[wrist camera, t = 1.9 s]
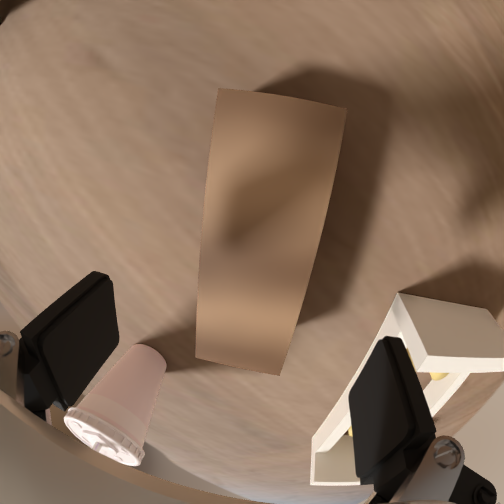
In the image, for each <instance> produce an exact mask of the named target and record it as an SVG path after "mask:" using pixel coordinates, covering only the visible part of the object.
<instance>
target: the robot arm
mask: <svg viewBox="0 0 504 504" xmlns="http://www.w3.org/2000/svg"><path fill="white" fill-rule="evenodd" d="M20 333H21V336H22V338H21V339H20V340H19V339H18V337H17V335H15V334H14V333H12V332H10V331H1V332H0V504H272V503H263V502H256V501H249V500H243V499H237V498H231V497H227V496H222V495H217V494H213V493H208V492H204V491H200V490H196V489H193V488H189V487H186V486H182V485H179V484H176V483H172V482H169V481H166V480H163V479H160V478H157V477H155V476H152V475H149V474H147V473H144V472H141V471H139V470H136V469H134V468H131V467H129V466H127V465H124V464H122V463H120V462H118V461H115V460H113V459H111V458H109V457H107V456H105V455H103V454H101V453H99V452H97V451H95V450H93V449H91V448H89V447H87V446H85V445H83V444H82V443H80V442H78V441H76V440H74V439H73V438H71V437H69V436H68V435H66V434H64V433H63V432H61V431H59V430H58V429H56V428H55V427H53V426H52V423H51V415H50V406H51V405H52V403H53V404H54V405H55V406H56V407H58V408H60V409H61V410H63V411H66V409H67V408H68V406H72V405H74V403H75V402H76V401H77V399H78V398H79V396H80V395H81V394H82V392H83V391H84V390H85V388H86V387H87V385H88V384H89V383H90V381H91V380H92V379H93V377H94V376H95V375H96V373H97V372H98V371H99V369H100V368H101V367H102V365H103V364H104V363H105V361H106V360H107V359H108V357H109V356H110V355H111V353H112V352H113V351H114V349H115V348H116V347H117V345H118V343H119V331H118V324H117V317H116V309H115V300H114V290H113V282H112V281H111V280H110V278H109V276H108V275H107V274H103V273H100V272H97V271H93V272H91V273H90V274H89V275H87V276H86V277H85V278H83V279H82V280H81V281H80V282H78V283H77V284H76V285H74V286H73V287H72V288H71V289H69V290H68V291H67V292H66V293H64V294H63V295H62V296H61V297H60V298H58V299H57V300H56V301H55V302H54V303H52V304H51V305H50V306H49V307H48V308H46V309H45V310H44V311H43V312H42V313H41V314H39V315H38V316H37V317H36V318H35V319H34V320H32V321H31V322H30V323H29V324H28V325H27V326H26V327H25V328H23V329H22V330H21V331H20ZM348 401H349V409H350V417H351V426H352V436H353V446H354V458H355V471H356V476H357V477H358V478H360V485H367V484H374V492H373V493H372V494H371V496H370V497H369V498H368V499H367V501H366V502H365V503H364V504H495V503H496V499H497V493H496V489H495V487H494V486H493V484H492V483H491V482H489V481H488V480H486V479H485V478H483V477H482V476H480V475H479V474H477V473H475V472H474V471H473V470H471V469H469V468H468V467H466V466H465V465H464V460H465V455H464V450H463V447H462V446H461V444H460V443H459V442H458V441H457V440H455V439H454V438H452V437H450V436H444V435H443V436H439V437H437V438H436V436H435V432H436V428H435V425H434V422H433V419H432V416H431V413H430V410H429V407H428V404H427V401H426V398H425V396H424V393H423V390H422V388H421V385H420V382H419V380H418V377H417V374H416V372H415V369H414V367H413V364H412V362H411V359H410V357H409V355H408V352H407V350H406V348H405V345H404V343H403V341H402V339H401V338H399V337H392V336H385V337H384V338H383V339H380V340H378V342H377V343H376V345H375V347H374V349H373V351H372V353H371V355H370V357H369V358H368V360H367V362H366V364H365V366H364V367H363V369H362V371H361V373H360V374H359V376H358V378H357V380H356V381H355V383H354V385H353V386H352V388H351V390H350V392H349V396H348ZM496 504H500V503H499V502H498V503H496Z"/></svg>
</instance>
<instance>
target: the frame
mask: <svg viewBox="0 0 504 504" xmlns="http://www.w3.org/2000/svg"><path fill="white" fill-rule="evenodd" d="M385 336H392V337H399V338H401V339H402V341H403V343H404V345H405V348H406V350H407V352H408V355H409V357H410V359H411V362H412V364H413V367H414V369H415V372H430V375H431V377H432V380H431V381H430V383H429V384H428V385H427V386H426V388H425V389H424V390H423V393H424V396H425V398H426V401H427V404H428V407H429V410H430V413H431V416H432V417H433V416H434V415H435V414H436V413H437V412H438V410H439V409H440V408H441V407H442V406H443V405H444V404H445V403H446V402H447V401H448V399H449V398H450V397H451V396H452V395H453V394H454V392H455V391H456V390H457V389H458V388H459V386H460V385H461V384H462V383H463V382H464V380H465V379H466V378H467V376H468V375H469V374H470V373H479V372H501V371H504V331H503V330H502V328H501V327H500V325H499V324H498V323H497V321H496V320H495V319H494V317H493V316H492V315H491V314H490V312H489V311H488V310H487V309H484V308H478V307H473V306H467V305H462V304H456V303H451V302H446V301H440V300H435V299H430V298H424V297H419V296H414V295H409V294H403V293H398V292H397V294H396V297H395V299H394V301H393V303H392V305H391V307H390V310H389V312H388V314H387V316H386V318H385V320H384V322H383V324H382V326H381V328H380V330H379V332H378V334H377V336H376V338H375V339H374V341H373V343H372V345H371V347H370V349H369V351H368V352H367V354H366V356H365V358H364V359H363V361H362V363H361V365H360V366H359V368H358V370H357V372H356V373H355V375H354V377H353V378H352V380H351V381H350V383H349V385H348V386H347V388H346V389H345V391H344V393H343V394H342V396H341V397H340V399H339V400H338V402H337V403H336V405H335V406H334V408H333V409H332V411H331V412H330V414H329V415H328V416H327V418H326V419H325V421H324V422H323V424H322V425H321V426H320V428H319V429H318V430H317V432H316V433H315V434H314V436H313V437H312V453H311V477H310V485H360V478H358V477H357V476H356V471H355V458H354V446H353V436H352V426H351V417H350V409H349V401H348V396H349V392H350V390H351V388H352V386H353V385H354V383H355V381H356V380H357V378H358V376H359V374H360V373H361V371H362V369H363V367H364V366H365V364H366V362H367V360H368V358H369V357H370V355H371V353H372V351H373V349H374V347H375V345H376V343H377V342H378V340H380V339H383V338H384V337H385ZM347 430H348V433H349V435H343V434H344V433H345V432H346V431H347Z"/></svg>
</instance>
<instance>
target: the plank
mask: <svg viewBox="0 0 504 504" xmlns="http://www.w3.org/2000/svg"><path fill="white" fill-rule="evenodd" d="M346 115H347V109H345V108H341V107H337V106H333V105H329V104H324V103H320V102H315V101H310V100H305V99H300V98H294V97H288V96H282V95H276V94H269V93H261V92H253V91H244V90H233V89H221V88H218V94H217V101H216V107H215V114H214V122H213V129H212V137H211V145H210V153H209V161H208V170H207V179H206V189H205V199H204V210H203V221H202V233H201V246H200V261H199V277H198V295H197V317H196V350H195V358H199V359H203V360H207V361H211V362H215V363H219V364H223V365H228V366H232V367H237V368H242V369H246V370H251V371H256V372H262V373H267V374H273V375H278V376H280V373H281V370H282V367H283V364H284V361H285V358H286V355H287V352H288V349H289V346H290V343H291V339H292V336H293V333H294V330H295V327H296V323H297V320H298V317H299V314H300V310H301V307H302V304H303V300H304V297H305V293H306V290H307V286H308V283H309V279H310V276H311V272H312V268H313V265H314V261H315V257H316V253H317V249H318V246H319V242H320V238H321V234H322V230H323V226H324V222H325V217H326V213H327V209H328V205H329V200H330V196H331V191H332V187H333V182H334V178H335V173H336V168H337V163H338V158H339V153H340V148H341V143H342V138H343V132H344V127H345V121H346Z"/></svg>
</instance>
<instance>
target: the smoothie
mask: <svg viewBox="0 0 504 504" xmlns="http://www.w3.org/2000/svg"><path fill="white" fill-rule="evenodd" d="M166 367H167V365H166V361H165V359H164V358H163V357H162V355H161V354H160V353H159V352H157V351H156V350H155V349H153V348H151V347H149V346H147V345H143V344H135V345H133V346H132V347H131V348H130V349H129V350H128V351H127V352H126V353H125V354H124V355H123V356H122V357H121V358H120V359H119V360H118V362H117V363H116V364H115V365H114V366H113V367H112V368H111V369H110V370H109V371H108V372H107V374H106V375H105V376H104V377H103V378H102V379H101V380H100V381H99V382H98V383H97V385H96V386H95V387H94V388H93V389H92V390H91V391H90V392H89V393H88V394H87V395H86V396H85V398H84V399H83V400H82V401H81V402H80V403H79V405H78V406H77V407H76V408H72V407H71V408H70V409H68V413H67V414H66V416H65V417H64V422H65V424H66V426H67V427H68V428H69V430H70V431H71V432H72V433H73V434H74V435H75V436H76V437H77V438H79V439H80V440H81V441H82V442H84V443H85V444H86V445H88V446H89V447H91V448H92V449H93V450H95V451H97V452H99V453H101V454H103V455H105V456H107V457H109V458H111V459H113V460H115V461H118V462H120V463H122V464H125V465H130V466H137V465H140V463H141V460H142V458H143V457H144V456H145V453H144V451H143V449H142V447H143V444H144V441H145V437H146V434H147V430H148V426H149V423H150V419H151V416H152V413H153V409H154V406H155V403H156V399H157V396H158V393H159V390H160V386H161V383H162V380H163V377H164V374H165V371H166Z"/></svg>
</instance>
